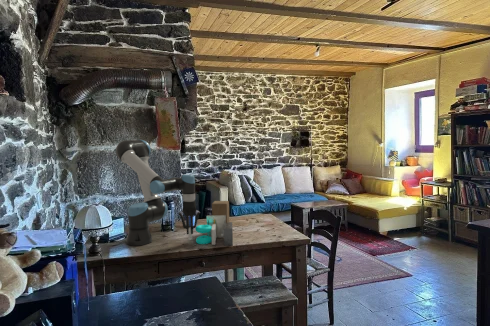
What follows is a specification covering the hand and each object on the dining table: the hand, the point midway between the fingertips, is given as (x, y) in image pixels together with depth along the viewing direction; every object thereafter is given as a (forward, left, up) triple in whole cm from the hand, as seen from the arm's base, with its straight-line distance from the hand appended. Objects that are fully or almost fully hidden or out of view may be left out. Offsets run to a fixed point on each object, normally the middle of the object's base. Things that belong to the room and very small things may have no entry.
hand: (190, 239), depth 207 cm
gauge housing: (+12, +13, -2) cm, 18 cm away
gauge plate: (+10, +10, -2) cm, 14 cm away
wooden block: (-2, +30, -2) cm, 30 cm away
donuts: (+6, +6, -2) cm, 9 cm away
